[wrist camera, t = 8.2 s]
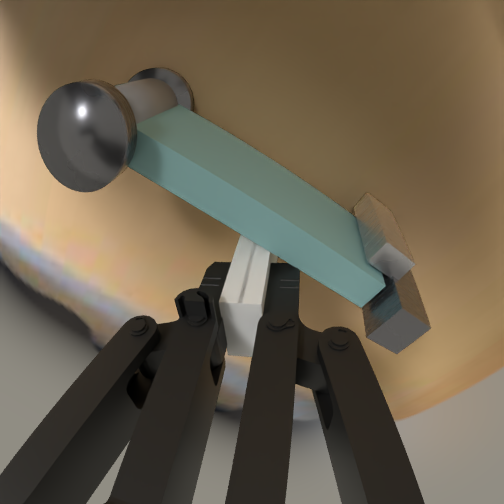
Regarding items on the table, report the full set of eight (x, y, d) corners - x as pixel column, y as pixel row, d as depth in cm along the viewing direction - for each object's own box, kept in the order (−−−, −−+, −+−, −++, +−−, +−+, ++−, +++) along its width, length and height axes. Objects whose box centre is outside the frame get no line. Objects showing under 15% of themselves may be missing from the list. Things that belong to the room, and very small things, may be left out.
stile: (332, 231, 18) (341, 323, 12) (367, 191, 16) (397, 273, 10) (375, 261, 18) (396, 354, 13) (409, 226, 17) (449, 312, 11)
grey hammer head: (114, 120, 16) (29, 162, 10) (143, 56, 13) (53, 67, 8) (172, 152, 16) (104, 211, 11) (207, 88, 14) (142, 112, 8)
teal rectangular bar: (119, 118, 15) (59, 146, 11) (141, 68, 13) (80, 79, 9) (341, 254, 18) (349, 319, 13) (377, 216, 16) (398, 275, 12)
